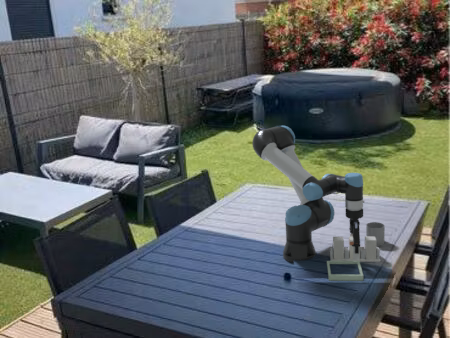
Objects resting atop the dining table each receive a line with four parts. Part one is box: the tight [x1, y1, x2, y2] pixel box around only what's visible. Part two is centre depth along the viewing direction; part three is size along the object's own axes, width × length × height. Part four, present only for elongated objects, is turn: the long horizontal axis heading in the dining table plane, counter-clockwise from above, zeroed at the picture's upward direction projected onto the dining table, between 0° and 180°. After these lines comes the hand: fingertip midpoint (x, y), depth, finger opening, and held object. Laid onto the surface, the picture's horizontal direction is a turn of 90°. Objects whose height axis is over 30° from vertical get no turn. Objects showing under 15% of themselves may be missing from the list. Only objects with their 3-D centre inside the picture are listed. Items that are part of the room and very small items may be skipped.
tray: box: [326, 260, 364, 282], centre depth 211 cm, size 14×14×2 cm
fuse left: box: [332, 236, 345, 259], centre depth 222 cm, size 4×4×9 cm
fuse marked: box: [348, 236, 358, 259], centre depth 221 cm, size 4×4×9 cm
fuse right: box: [364, 235, 377, 259], centre depth 220 cm, size 4×4×9 cm
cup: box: [365, 221, 386, 246], centre depth 236 cm, size 8×8×10 cm
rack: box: [329, 246, 381, 263], centre depth 222 cm, size 21×9×6 cm, turn 82°
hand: (354, 253), depth 222 cm, fingers open, 13 cm apart
